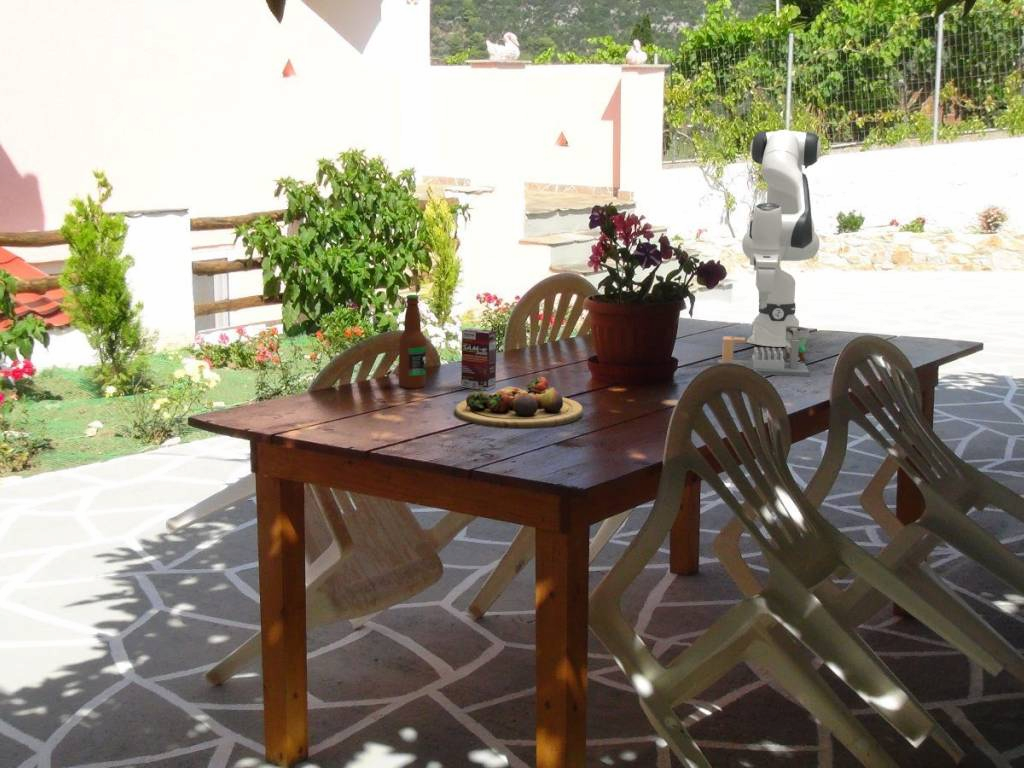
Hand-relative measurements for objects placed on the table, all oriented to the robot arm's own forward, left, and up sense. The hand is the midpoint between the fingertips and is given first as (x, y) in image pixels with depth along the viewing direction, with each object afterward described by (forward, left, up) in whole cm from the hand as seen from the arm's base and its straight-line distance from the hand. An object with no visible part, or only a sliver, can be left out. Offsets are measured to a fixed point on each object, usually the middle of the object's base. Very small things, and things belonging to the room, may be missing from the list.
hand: (762, 305), depth 380 cm
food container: (-19, +13, -20) cm, 30 cm away
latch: (0, -8, -18) cm, 19 cm away
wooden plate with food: (+75, -63, -20) cm, 100 cm away
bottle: (+47, -96, -20) cm, 109 cm away
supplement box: (+45, -78, -20) cm, 92 cm away
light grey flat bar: (0, +4, -10) cm, 10 cm away
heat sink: (0, +1, -19) cm, 19 cm away
